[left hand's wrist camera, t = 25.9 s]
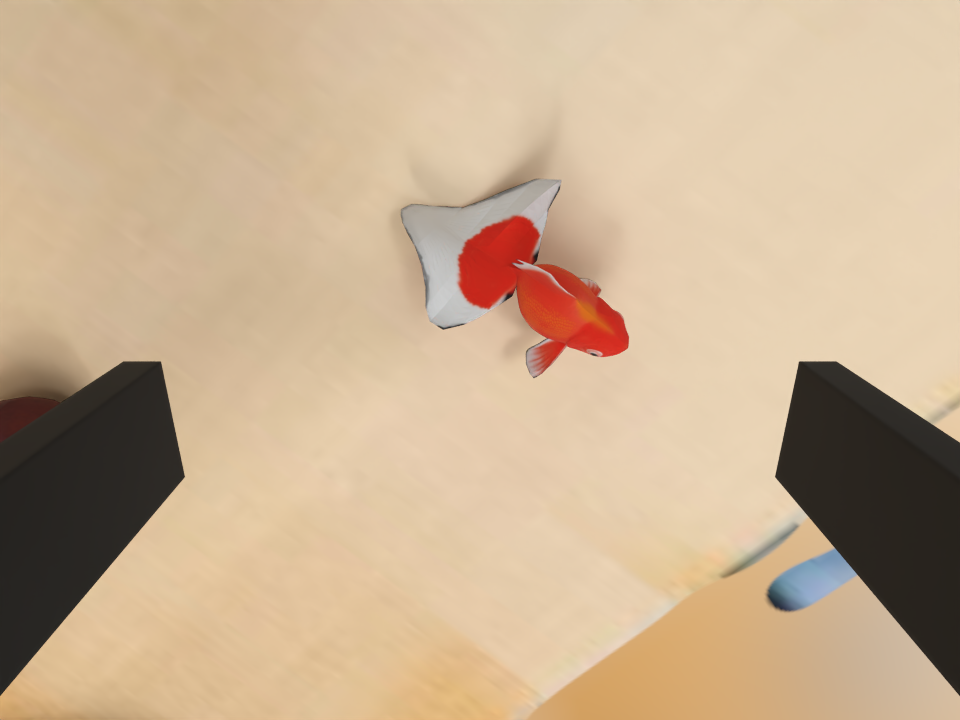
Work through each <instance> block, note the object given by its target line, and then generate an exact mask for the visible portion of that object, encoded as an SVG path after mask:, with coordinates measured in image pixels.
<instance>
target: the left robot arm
mask: <svg viewBox="0 0 960 720" xmlns="http://www.w3.org/2000/svg"><path fill="white" fill-rule="evenodd" d="M184 477H185V475H184V471H183V466H182V461H181V456H180V451H179V447H178V442H177V437H176V432H175V427H174V423H173V418H172V413H171V408H170V403H169V399H168V394H167V389H166V384H165V379H164V374H163V370H162V365H161V362H122V363H121V364H119V365H118V366H116V367H115V368H113V369H111V370H110V371H108V372H107V373H105V374H104V375H102V376H101V377H99V378H98V379H96V380H95V381H93V382H92V383H90V384H89V385H87V386H86V387H84V388H83V389H81V390H80V391H78V392H77V393H75V394H73V395H72V396H70V397H69V398H67V399H66V400H64V401H63V402H61V403H60V404H58V405H57V406H55V407H54V408H52V409H51V410H49V411H48V412H46V413H45V414H43V415H42V416H40V417H39V418H37V419H35V420H34V421H32V422H31V423H29V424H28V425H26V426H25V427H23V428H22V429H20V430H19V431H17V432H16V433H14V434H13V435H11V436H10V437H8V438H7V439H5V440H4V441H2V442H1V443H0V696H1V694H2V693H3V692H4V691H5V690H6V688H7V687H8V686H9V685H10V684H11V682H12V681H13V680H14V679H15V678H16V677H17V675H18V674H19V673H20V672H21V671H22V669H23V668H24V667H25V666H26V665H27V663H28V662H29V661H30V660H31V659H32V658H33V656H34V655H35V654H36V653H37V652H38V650H39V649H40V648H41V647H42V646H43V645H44V643H45V642H46V641H47V640H48V639H49V637H50V636H51V635H52V634H53V633H54V631H55V630H56V629H57V628H58V627H59V626H60V624H61V623H62V622H63V621H64V620H65V618H66V617H67V616H68V615H69V614H70V613H71V611H72V610H73V609H74V608H75V607H76V605H77V604H78V603H79V602H80V601H81V599H82V598H83V597H84V596H85V595H86V594H87V592H88V591H89V590H90V589H91V588H92V586H93V585H94V584H95V583H96V582H97V581H98V579H99V578H100V577H101V576H102V575H103V573H104V572H105V571H106V570H107V569H108V567H109V566H110V565H111V564H112V563H113V562H114V560H115V559H116V558H117V557H118V556H119V554H120V553H121V552H122V551H123V550H124V548H125V547H126V546H127V545H128V544H129V543H130V541H131V540H132V539H133V538H134V537H135V535H136V534H137V533H138V532H139V531H140V530H141V528H142V527H143V526H144V525H145V524H146V522H147V521H148V520H149V519H150V518H151V516H152V515H153V514H154V513H155V512H156V511H157V509H158V508H159V507H160V506H161V505H162V503H163V502H164V501H165V500H166V499H167V498H168V496H169V495H170V494H171V493H172V492H173V490H174V489H175V488H176V487H177V486H178V484H179V483H180V482H181V481H182V480H183V479H184ZM775 477H776V479H777V480H778V481H779V482H780V483H781V484H782V486H783V487H784V488H785V489H786V490H787V492H788V493H789V494H790V495H791V496H792V498H793V499H794V500H795V501H796V502H797V503H798V505H799V506H800V507H801V508H802V509H803V511H804V512H805V513H806V514H807V515H808V516H809V518H810V519H811V520H812V521H813V522H814V524H815V525H816V526H817V527H818V528H819V530H820V531H821V532H822V533H823V534H824V535H825V537H826V538H827V539H828V540H829V541H830V542H831V544H832V545H833V546H834V547H835V549H836V550H837V551H838V552H839V553H840V554H841V556H842V557H843V558H844V559H845V560H846V562H847V563H848V564H849V565H850V566H851V567H852V569H853V570H854V571H855V572H856V573H857V575H858V576H859V577H860V578H861V579H862V581H863V582H864V583H865V584H866V585H867V586H868V588H869V589H870V590H871V591H872V592H873V594H874V595H875V596H876V597H877V598H878V599H879V601H880V602H881V603H882V604H883V605H884V607H885V608H886V609H887V610H888V611H889V613H890V614H891V615H892V616H893V617H894V618H895V620H896V621H897V622H898V623H899V624H900V626H901V627H902V628H903V629H904V630H905V631H906V633H907V634H908V635H909V636H910V637H911V639H912V640H913V641H914V642H915V643H916V644H917V646H918V647H919V648H920V649H921V650H922V652H923V653H924V654H925V655H926V656H927V658H928V659H929V660H930V661H931V662H932V663H933V665H934V666H935V667H936V668H937V669H938V671H939V672H940V673H941V674H942V675H943V677H944V678H945V679H946V680H947V681H948V682H949V684H950V685H951V686H952V687H953V688H954V690H955V691H956V692H957V693H958V694H959V696H960V443H959V442H958V441H956V440H955V439H953V438H952V437H950V436H949V435H947V434H946V433H944V432H943V431H941V430H940V429H938V428H937V427H935V426H934V425H932V424H931V423H929V422H928V421H926V420H925V419H923V418H921V417H920V416H918V415H917V414H915V413H914V412H912V411H911V410H909V409H908V408H906V407H905V406H903V405H902V404H900V403H899V402H897V401H896V400H894V399H893V398H891V397H890V396H888V395H887V394H885V393H883V392H882V391H880V390H879V389H877V388H876V387H874V386H873V385H871V384H870V383H868V382H867V381H865V380H864V379H862V378H861V377H859V376H858V375H856V374H855V373H853V372H852V371H850V370H849V369H847V368H845V367H844V366H842V365H841V364H839V363H838V362H799V365H798V370H797V374H796V379H795V384H794V389H793V394H792V399H791V403H790V408H789V413H788V418H787V423H786V427H785V432H784V437H783V442H782V447H781V451H780V456H779V461H778V466H777V471H776V475H775Z"/></svg>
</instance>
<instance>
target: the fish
mask: <svg viewBox="0 0 960 720" xmlns="http://www.w3.org/2000/svg"><path fill="white" fill-rule="evenodd" d="M560 185H561V180H551V179H534V180H532V181H529V182H526V183H524V184H521V185H518V186H516V187H513V188H510V189H508V190H505V191H503V192H501V193H498V194H496V195H494V196H492V197H489V198H487V199H485V200H483V201H480V202H477V203H474V204H471V205H469V206H466V207H463V208H461V207H442V206H428V205H419V204H411V205H409V206H407V207H405V208H403V209H401V218H402V222H403V224H404V227H405V229H406V231H407V233H408V235H409V237H410V239H411V240H412V242H413V244H414V246H415V248H416V250H417V253H418V256H419V259H420V262H421V265H422V270H423V275H424V281H425V286H426V310H427V313H428V317H429V320H430V322H432V323H433V324H435V325H437V326H438V327H440V328H441V329H443V330H444V329H448V328H452V327H456V326H460V325H464V324H466V323H468V322H471V321H473V320H475V319H477V318H479V317H481V316H482V315H484V314H486V313H487V312H489V311H490V310H492V309H494V308H495V307H497V306H498V305H500V304H501V303H503V302H504V301H506V300H507V299H509V298H510V297H512V295H513V293H514V291H515V288H516V287H517V297H518V303H519V308H520V311H521V313H522V315H523V317H524V319H525V320H526V322H527V323H528V324H529V326H530V327H531V328H532V329H534V330H535V331H536V332H538V333H539V334H541V335H542V336H544V337H546V338H547V339H545V340H543V341H542V342H540V343H539V344H537V345H535V346H533V347H531V348H529V349H528V350H527V352H526V365H527V367H528V370H529V372H530V374H531V375H532V376H533V378H535V377H537V376H539V375H540V374H542V373H543V372H544V371H545V370H546V369H547V368H548V367H549V366H550V365H551V364H552V363H553V362H554V361H555V360H556V359H557V358H558V356H559V355H560V354H561V353H562V351H563V350H564V349H565V348H566V346H567V347H570V348H573V349H577V350H580V351H583V352H585V353H588V354H590V355H593V356H597V357H607V356H613V355H617V354H619V353H621V352H623V351H624V350H626V349H627V348H628V344H629V336H628V333H627V331H626V328H625V324H624V318H623V316H622V315H621V314H620V313H619V312H617V311H615V310H613V309H612V308H611V307H610V306H609V305H608V304H607V303H606V302H605V301H604V300H602V299H601V298H600V297H598V295H599V294H600V292H601V289H600V288H599V287H598V285H597V284H596V283H595V282H594V281H591V280H589V279H581V278H580V279H579V278H578V277H576V276H575V275H573V274H572V273H570V272H568V271H566V270H564V269H562V268H560V267H557V266H554V265H548V264H540V265H533V264H534V263H535V262H536V261H537V257H538V252H539V248H540V243H541V238H542V234H543V231H544V227H545V224H546V219H547V214H548V210H549V208H550V206H551V204H552V202H553V200H554V199H555V197H556V195H557V193H558V191H559V189H560Z"/></svg>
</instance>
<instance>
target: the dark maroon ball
mask: <svg viewBox="0 0 960 720" xmlns="http://www.w3.org/2000/svg"><path fill="white" fill-rule="evenodd" d="M58 404H60V403H59V402H57V401H55V400H51V399H45V398H38V397H23V398H16V399H9V400H3V401H0V443H1V442H2V441H4V440H5V439H7V438H8V437H10V436H11V435H13V434H14V433H16V432H17V431H19V430H20V429H22V428H23V427H25V426H26V425H28V424H29V423H31V422H32V421H34V420H35V419H37V418H39V417H40V416H42V415H43V414H45V413H46V412H48V411H49V410H51V409H52V408H54V407H55V406H57V405H58Z"/></svg>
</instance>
